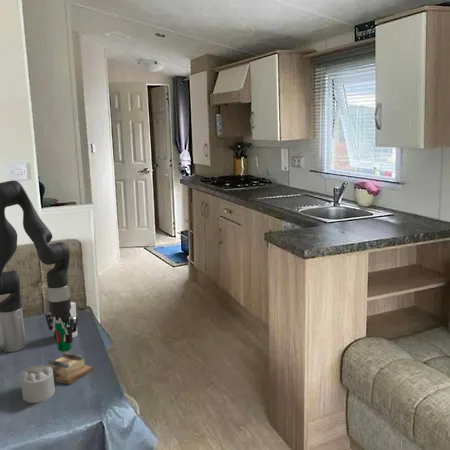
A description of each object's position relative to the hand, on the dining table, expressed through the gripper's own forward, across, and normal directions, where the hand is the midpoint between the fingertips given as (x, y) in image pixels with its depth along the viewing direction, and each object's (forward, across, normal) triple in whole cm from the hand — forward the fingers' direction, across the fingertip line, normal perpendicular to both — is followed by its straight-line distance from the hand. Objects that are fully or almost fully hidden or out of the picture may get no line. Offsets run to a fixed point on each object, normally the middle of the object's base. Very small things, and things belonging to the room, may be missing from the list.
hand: (63, 342), depth 182 cm
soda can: (+3, 0, 0) cm, 3 cm away
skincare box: (+13, -28, +28) cm, 41 cm away
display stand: (+13, 0, 0) cm, 13 cm away
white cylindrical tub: (+13, +2, -15) cm, 20 cm away
